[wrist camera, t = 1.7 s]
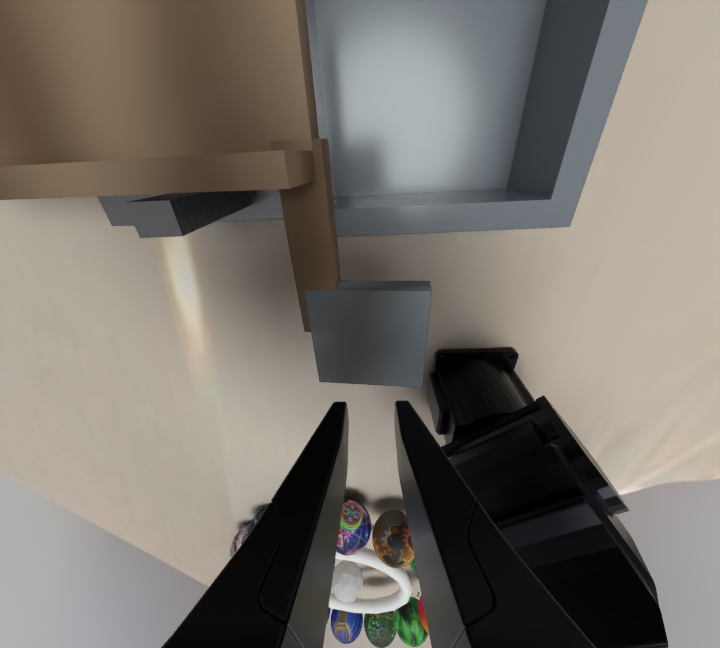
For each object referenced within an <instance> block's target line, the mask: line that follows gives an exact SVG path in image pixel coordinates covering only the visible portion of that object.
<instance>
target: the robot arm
mask: <svg viewBox="0 0 720 648" xmlns="http://www.w3.org/2000/svg"><path fill="white" fill-rule="evenodd" d="M511 354H512V355H511ZM509 355H511V356H509ZM440 356H443V357H440ZM517 359H518V353H517V352H516V350H515V349H512V348H509V349H469V350H440V351H438V352H437V353H436V354H435V360H434V368H433V373H430V375H429V379H428V388H427V398H428V402H429V406H430V410H431V414H432V418H433V422H434V426H435V430H436V432H437V433H438V434H439V435H444V437H445V440H446V445H444V446H442V447H440V446H439V444H438V443H437V441H436V440H435V438H434V437H433V436H432V434H431V433H430V431H429V430H428V428H427V427H426V426H425V424H424V423H423V421H422V420H421V418H420V417H419V415H418V414H417V413H416V411H415V410H414V408H413V407H412V405H411V404H410V403H409V402H408V401H396V402H395V435H396V448H397V461H398V472H399V478H400V484H401V489H402V494H403V499H404V504H405V510H406V515H407V520H408V525H409V531H410V536H411V541H412V546H413V551H414V557H415V562H416V567H417V572H418V577H419V583H420V588H421V593H422V598H423V604H424V609H425V614H426V619H427V624H428V630H429V635H430V640H431V645H432V648H668V641H667V637H666V632H665V628H664V623H663V619H662V615H661V611H660V608H659V604H658V598H657V592H656V587H655V584H654V581H653V579H652V577H651V575H650V573H649V571H648V569H647V567H646V565H645V563H644V561H643V559H642V557H641V555H640V553H639V551H638V549H637V547H636V545H635V543H634V541H633V539H632V537H631V536H630V534H629V533H628V531H627V530H626V528H625V527H624V526H623V524H622V523H621V522H620V520H619V519H618V517H617V516H616V515H615V514H620V513H623V512H627V511H629V509H628V507H627V506H626V504H625V503H624V501H623V500H622V499H621V497H620V496H619V494H618V493H617V491H616V490H615V488H614V487H613V485H612V484H611V482H610V481H609V480H608V478H607V477H606V475H605V474H604V472H603V471H602V469H601V468H600V466H599V465H598V464H597V462H596V461H595V460H594V458H593V457H592V456H591V454H590V453H589V452H588V450H587V449H586V448H585V446H584V445H583V444H582V442H581V441H580V440H579V439H578V437H577V436H576V435H575V433H574V432H573V431H572V429H571V428H570V427H569V426H568V424H567V423H566V422H565V421H564V420H563V418H562V417H561V416H560V415H559V413H558V412H557V411H556V410H555V408H554V407H553V406H552V405H551V404H550V402H549V401H548V400H547V399H546V397H545V396H542V397H540V398H538V399H536V401H535V400H534V399H533V397H532V396H531V394H530V393H529V391H528V390H527V388H526V387H525V386H524V384H523V383H522V381H521V380H520V378H519V377H518V375H517V374H516V372H515V371H514V368H515V365H516V362H517ZM348 428H349V421H348V410H347V403H346V402H334V403H333V404H332V406H331V407H330V409H329V410H328V412H327V413H326V415H325V417H324V418H323V420H322V421H321V423H320V424H319V426H318V428H317V429H316V431H315V432H314V434H313V435H312V437H311V439H310V440H309V442H308V443H307V445H306V446H305V448H304V450H303V451H302V453H301V454H300V456H299V457H298V459H297V461H296V462H295V464H294V465H293V467H292V468H291V470H290V472H289V473H288V475H287V476H286V478H285V479H284V481H283V483H282V484H281V486H280V487H279V489H278V490H277V492H276V494H275V495H274V497H273V498H272V500H271V502H272V503H269V504H268V506H267V507H266V509H265V511H264V512H263V514H262V515H261V517H260V518H259V520H258V521H257V523H256V524H255V526H254V527H253V529H252V530H251V532H250V533H249V535H248V536H247V538H246V539H245V541H244V542H243V543H242V545H241V546H240V547H239V549H238V550H237V551H236V553H235V554H234V555H233V557H232V558H231V559H230V561H229V562H228V564H227V565H226V566H225V567H224V569H223V570H222V571H221V573H220V574H219V575H218V577H217V578H216V579H215V580H214V582H213V583H212V584H211V586H210V587H209V588H208V590H207V591H206V592H205V594H204V595H203V596H202V597H201V599H200V600H199V601H198V603H197V604H196V605H195V606H194V608H193V609H192V610H191V612H190V613H189V614H188V616H187V617H186V618H185V619H184V621H183V622H182V623H181V625H180V626H179V627H178V628H177V630H176V631H175V632H174V633H173V635H172V636H171V637H170V638H169V639H168V640H167V642H166V643H165V644H164V645H163V646H162V647H161V648H323V642H324V635H325V628H326V621H327V614H328V607H329V600H330V593H331V586H332V578H333V571H334V564H335V557H336V550H337V543H338V536H339V529H340V521H341V514H342V507H343V500H344V493H345V486H346V478H347V466H348Z"/></svg>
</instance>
